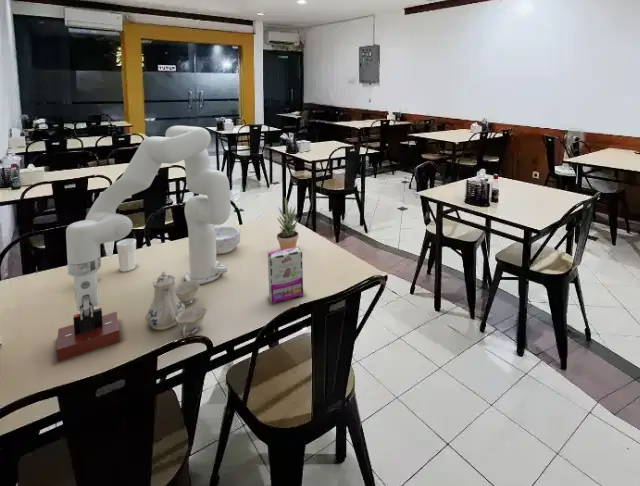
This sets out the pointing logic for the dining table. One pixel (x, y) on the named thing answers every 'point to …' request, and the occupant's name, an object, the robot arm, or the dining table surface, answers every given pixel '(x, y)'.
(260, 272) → the dining table surface
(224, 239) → the paper bowls
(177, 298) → the chinaware
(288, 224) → the potted plant
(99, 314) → the black rectangular block
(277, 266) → the candy bar box
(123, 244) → the cup
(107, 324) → the rotary switch block
